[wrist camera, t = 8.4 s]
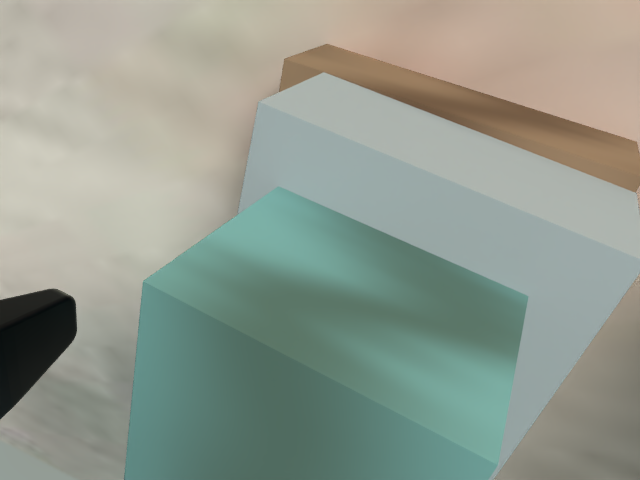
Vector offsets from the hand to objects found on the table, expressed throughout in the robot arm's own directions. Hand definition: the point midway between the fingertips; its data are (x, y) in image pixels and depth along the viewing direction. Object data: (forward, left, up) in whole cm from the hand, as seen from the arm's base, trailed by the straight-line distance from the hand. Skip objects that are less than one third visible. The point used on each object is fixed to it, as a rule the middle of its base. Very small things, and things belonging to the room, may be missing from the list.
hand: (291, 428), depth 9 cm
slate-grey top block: (0, 0, -6) cm, 6 cm away
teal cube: (0, 0, -3) cm, 3 cm away
